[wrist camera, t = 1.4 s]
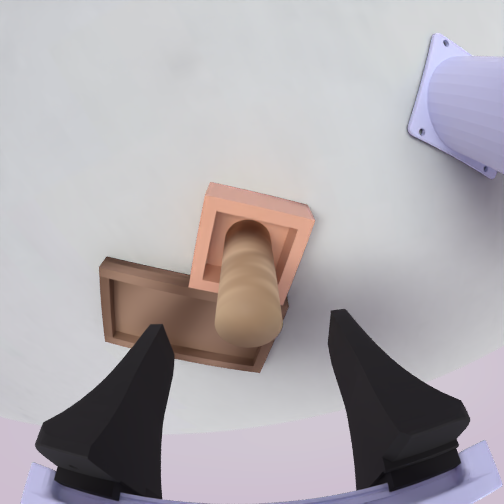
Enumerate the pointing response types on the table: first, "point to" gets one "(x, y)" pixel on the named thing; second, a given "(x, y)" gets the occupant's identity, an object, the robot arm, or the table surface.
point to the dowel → (248, 288)
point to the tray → (169, 315)
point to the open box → (249, 208)
